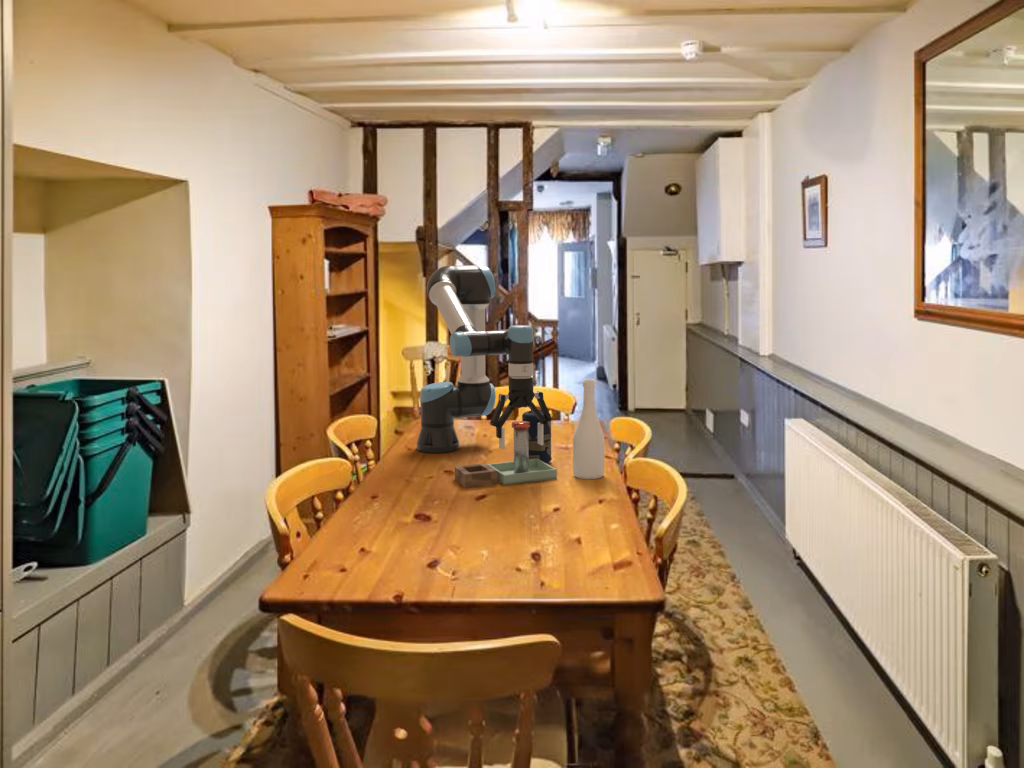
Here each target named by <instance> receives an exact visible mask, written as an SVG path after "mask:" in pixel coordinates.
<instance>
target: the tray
mask: <svg viewBox="0 0 1024 768" xmlns="http://www.w3.org/2000/svg"><path fill="white" fill-rule="evenodd" d="M486 464H487V465H489V466H490V467H492V468H493V469H495V470H496V471H497V482H499V484H502V485H503V486H511V485H518V484H525V483H533V482H534V483H535V482H541V481H542V482H543V481H551V480H557V479H558V476H557V475H558V471H557V470H558V468H555V467H553V466H551V465H550V464H549V463H544V462H543V461H541V460H539V459H530V460H529V472H525V473H516V474H514V460H513V461H506V462H503V461H502V462H495V463H486Z"/></svg>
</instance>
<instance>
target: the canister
mask: <svg viewBox="0 0 1024 768" xmlns="http://www.w3.org/2000/svg"><path fill="white" fill-rule="evenodd" d="M537 409H538V408H537ZM538 411H539V412H540V413H541V415H542V416H543V417H544V415H543V413H542V410H541V409H538ZM550 416H551V417H552V414H551V413H550ZM521 418H522V420H521V421H527V422H530V427H529V428H528V452H529V460H530V459H539V460H541V461H543V462H544V463H546V464H549V463H550V462H551V461H552V420H551V421H549V422H548V423H547V424H546V433H545V434H543V445H540V444H538V423H540V421H539V420H538V418H537V417H536V416H535V414H534V413H533V412H532V411H531V410H528V411H525V412H523V413H522V415H521ZM544 418H545V417H544Z"/></svg>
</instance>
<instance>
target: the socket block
mask: <svg viewBox="0 0 1024 768" xmlns="http://www.w3.org/2000/svg"><path fill="white" fill-rule="evenodd" d="M487 464H488V463H486V462H485V463H477V464H476V463H475V464H466V465H457V466H454V480H455V481H456V482H457V483H459V484H460V485H461V486H463V488H465V489H469V488H477V487H478V488H479V487H485V486H492V485H493V486H494V485H498V481H497V471H496V470H495V469H493V468H492V467H490V466H489V465H487Z"/></svg>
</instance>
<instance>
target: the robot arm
mask: <svg viewBox="0 0 1024 768" xmlns="http://www.w3.org/2000/svg"><path fill="white" fill-rule="evenodd" d="M494 277H495V276H494V274H493V272H492V271H491V268H490V267H488V266H486V265H477V264H473V265H445V266H442V267H439V268H437V269H436V270H435V271H434V272H432V274H431V275H430V277H429V279H428V281H427V284H426V294H427V297H428V299H429V301H430V302H431V303H432V304H433V305H434V306H436V307H437V310H438V311H439V313H440V315H441V317H442V319H443V321H444V323H445V325H446V327H447V328H448V330H449V332H450V337H449V348H450V353H451V354H452V355H453V356H454V357H461V359H460V360H461V361H460V362H461V375H460V377H459V378H458V379H457V385H454V383H453V382H451V381H443V382H441V381H440V382H434V383H430V384H427V385H424V386H422V388H421V389H420V396H419V402H420V431H419V434H418V437H417V441H416V450H417V451H419V452H422V453H429V454H430V453H431V454H444V453H450V452H454V451H457V450H459V449H460V441H459V438H458V436H457V435H458V434H457V432H456V428H455V424H454V419H461V418H474V417H477V418H480V417H482V416H488V415H490V414H491V413H492V412H493V410H494V412H493V414H492V417H491V419H490V422H489V425H490V426H492V427H495V433H496V434H495V436H496V438H498V448H500V449H501V450H505V449H506V445H505V443H506V440H505V439H506V437H505V433H506V432H505V427H503V426H504V425H505V423H506V422H507V420H508V418H509V417H510V416H511V414H512V413H513V411H515V410H516V408H517V409H520V408H529V409H530V411H532V412H533V413H534V414H535V416H536V417H537V418H538V420H539V421H540V423H538V444H540V445H543V434H545V433H546V424H547V423H548V422H549V421H551V422H552V421H553V420H552V415H551V416H550V414H551V413H550V412H549V409H548V406H547V404H546V402H545V400H544V393H543V392H542V391H539V390H537V391H534V378H533V376H534V339H535V337H534V330H533V329H534V328H533V327H532V326H531V325H524V324H523V325H521V324H518V325H517V324H516V325H510V326H509V327H508V328H506V329H504V328H503V329H499V330H486V308H487V307H488V306H489V305H490V300H492V299H493V298H494V297H495V295H496V283H495V278H494ZM497 355H500V356H501V355H508V356H507V357H508V358H507V359H508V373H507V374H508V377H509V378H508V393H507V394H502V393H499V394H498V400H497V404H496V406H495V403H496V389H495V386H494V385H493V383H490V378H489V376H487V375H486V356H497ZM534 398H535V399H536V400H537V403H538V405H539V408H540V410H542V413H543V415H544V417H545V418H544V417H543V416H542V415H541V413H540V412H539V411H538V408H537V406H536V405H535V403H534V402H533V400H534ZM508 400H509V402H508V404H507V406H506V408H505V409H504V406H505V404H506V402H507V401H508ZM494 407H495V409H494ZM503 409H504V411H503Z"/></svg>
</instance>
